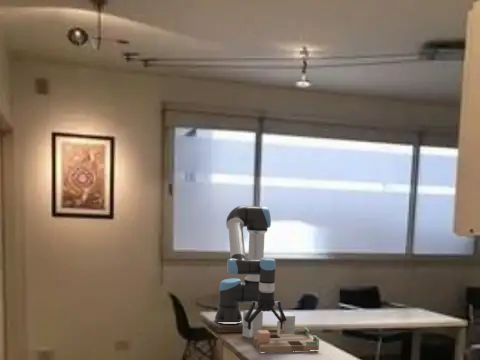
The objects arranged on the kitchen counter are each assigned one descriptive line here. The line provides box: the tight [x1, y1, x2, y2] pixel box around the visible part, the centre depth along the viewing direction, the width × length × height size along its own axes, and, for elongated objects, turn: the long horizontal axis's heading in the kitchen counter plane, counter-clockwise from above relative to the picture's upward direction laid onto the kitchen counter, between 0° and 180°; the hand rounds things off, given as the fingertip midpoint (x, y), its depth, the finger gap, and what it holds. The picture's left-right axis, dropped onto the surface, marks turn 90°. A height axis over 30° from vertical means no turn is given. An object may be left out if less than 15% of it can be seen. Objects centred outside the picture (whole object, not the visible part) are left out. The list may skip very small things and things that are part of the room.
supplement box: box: [242, 309, 264, 340], centre depth 249 cm, size 7×7×13 cm
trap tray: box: [251, 327, 320, 353], centre depth 236 cm, size 18×28×6 cm, turn 102°
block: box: [257, 329, 271, 342], centre depth 234 cm, size 5×5×4 cm
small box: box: [279, 311, 296, 334], centre depth 255 cm, size 8×6×10 cm
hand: (264, 336), depth 234 cm, fingers open, 13 cm apart
